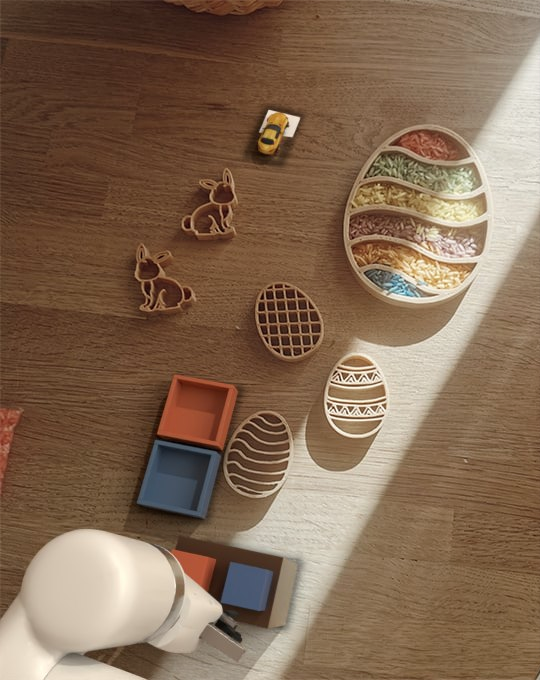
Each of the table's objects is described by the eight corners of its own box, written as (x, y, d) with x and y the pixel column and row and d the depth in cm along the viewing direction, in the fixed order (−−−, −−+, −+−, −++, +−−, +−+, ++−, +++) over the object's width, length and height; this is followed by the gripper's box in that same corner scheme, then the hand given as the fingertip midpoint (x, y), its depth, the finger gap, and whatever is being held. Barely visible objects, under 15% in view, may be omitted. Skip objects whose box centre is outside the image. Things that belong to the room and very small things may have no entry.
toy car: (293, 119, 126) (291, 111, 124) (276, 160, 124) (274, 152, 121) (271, 114, 127) (269, 105, 125) (254, 154, 124) (251, 146, 122)
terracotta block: (206, 597, 85) (197, 597, 81) (170, 590, 86) (160, 589, 82) (216, 559, 87) (208, 557, 83) (181, 551, 87) (171, 549, 83)
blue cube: (264, 610, 84) (258, 611, 80) (228, 602, 85) (220, 602, 81) (273, 571, 86) (268, 569, 82) (237, 563, 86) (230, 561, 82)
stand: (285, 625, 99) (267, 628, 84) (193, 604, 100) (160, 604, 85) (298, 564, 101) (283, 557, 86) (208, 545, 103) (178, 535, 88)
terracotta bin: (223, 451, 107) (217, 446, 104) (163, 439, 108) (156, 434, 105) (238, 391, 110) (233, 385, 107) (180, 381, 111) (174, 374, 108)
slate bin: (205, 519, 104) (199, 516, 101) (144, 506, 105) (136, 503, 102) (221, 456, 107) (216, 451, 104) (162, 444, 108) (155, 439, 105)
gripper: (22, 564, 58) (100, 573, 74) (187, 709, 54) (232, 685, 70) (86, 486, 60) (149, 511, 76) (250, 620, 55) (280, 617, 71)
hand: (189, 594), depth 73 cm, fingers open, 9 cm apart
